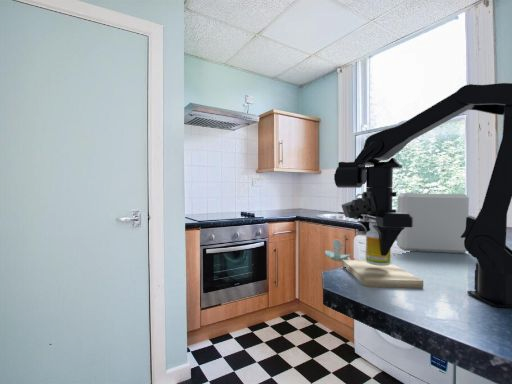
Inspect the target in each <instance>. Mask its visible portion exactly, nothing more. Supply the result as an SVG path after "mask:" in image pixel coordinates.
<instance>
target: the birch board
mask: <svg viewBox="0 0 512 384" xmlns="http://www.w3.org/2000/svg"><path fill="white" fill-rule="evenodd" d="M341 266H342V267H343V268H344V267H346V268H345V270H347V271H348V272H349V273H350V274H351V275H352V276H354V278H356V279H357V280H358V281H359V282H360V283H361V284H362V285H363V286H365V287H366V288H367V287H368V288H369V287H370V288H371V287H372V288H373V287H374V288H411V289H414V288H418V289H424V279H421V278H419V277H417V276H415V275H414V274H412V273H410V272H408V271H406V270H405V269H403V268H400V267H399V266H398V265H395V264H393V263H392V262H390V265H387V266H377V265H372V264H369V263H367V262H366V259H351V260H342V261H341ZM348 266H349V267H348Z"/></svg>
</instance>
